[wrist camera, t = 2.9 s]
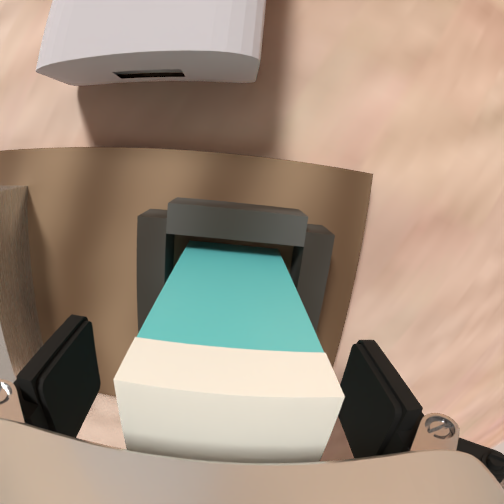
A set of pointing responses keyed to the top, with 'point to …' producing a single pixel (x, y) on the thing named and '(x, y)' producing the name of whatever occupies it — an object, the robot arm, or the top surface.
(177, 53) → the charger
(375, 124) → the top surface
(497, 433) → the top surface
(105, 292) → the brown socket board
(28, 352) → the frame
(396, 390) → the robot arm
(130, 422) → the plug
